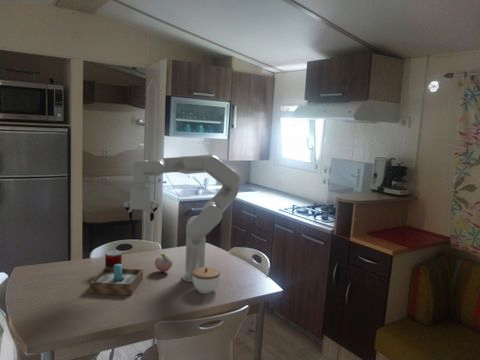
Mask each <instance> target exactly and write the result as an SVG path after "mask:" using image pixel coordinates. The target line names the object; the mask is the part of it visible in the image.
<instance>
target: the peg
mask: <svg viewBox="0 0 480 360" xmlns="http://www.w3.org/2000/svg"><path fill="white" fill-rule="evenodd" d="M122 268H123V264H115V265H114V282H122Z"/></svg>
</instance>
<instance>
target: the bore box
mask: <svg viewBox="0 0 480 360" xmlns="http://www.w3.org/2000/svg"><path fill="white" fill-rule="evenodd" d="M143 280H144V269H140V268H139V269H138V268H124V267H122V282H114V268H108V267H105V266H104V268H103V269H101V271H99V273H98V274H96V276H95V277H94V278H92V280H90V282H89V294H99V295H100V294H102V295H118V296H133V294H134V293H135V291H136V290H137V288H138V286H139V285H141V282H142V281H143Z"/></svg>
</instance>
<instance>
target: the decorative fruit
mask: <svg viewBox="0 0 480 360" xmlns="http://www.w3.org/2000/svg"><path fill="white" fill-rule="evenodd" d="M154 266H155V268H156V269H157V270H158V271H160V272H162V273H165V272H168V271H169V270H170V269H171V268H172V266H173V260H172V258H171V257H169V256H168V255H166V254H165V253H161V254H160V255H159V256H157V257H156V258H155V260H154Z"/></svg>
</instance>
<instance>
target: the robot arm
mask: <svg viewBox="0 0 480 360" xmlns="http://www.w3.org/2000/svg"><path fill="white" fill-rule="evenodd" d="M168 173H169V174H170V173H180V174H184V175H191V174H193V175H194V174H202V173H203V174H204V173H206V174H208V175H209V176H210V177H212V178H213V179H214V180H215V181H217V182H218V183H219V184H221V185H222V186H221V188H220V189H219V191H218V192H217V193H216V194H214V196H213V197H212V198H211V199H210V200H209V201H207V203H205V204H204V205H203V207H202V211H200V213H199V214H198V215H193V216H191V217H190V218H189V219H188V220H187V223H186V227H185V228H186V229H185V231H186V232H185V233H186V241H185V263H184V264H185V266H184V267H185V269H184V270H185V271H184V273H182V275H181V279H182V280H183V281H184V282H188V283H193V274H192V272H193V270H194V269H196V268H200V267H205V262H206V261H205V260H206V259H205V257H206V239H207V238H206V236H207V235H208V234H209V233H210V232H211V231H213V229H214V228H215V227H216V226H217V225H218V224H219V223H220V222H221V220H222V218H223V213H224V211H225V210H226V209H228V207H229V206H230V205H231V204H233V202H234V201H235V199H236V198H237V195H238V193H239V190H240V181H241V180H240V175H239V174H238V172H237V171H236V170H234V169H232V168H231V167H229V166H228V165H226V164H225V163H224V162H223V161H222V160H221V159H220V158H219V157H218V156H217V155H215V154H203V155H187V156H178V157H176V156H175V157H163V158H162V157H161V158H155V159H154V160H147V159H135V160H133V162H132V182H130V184H129V185H130V186H131V187H132V188H131V189H130V197H129V200H127V201H125V202H124V203H122V205H123V206H124V208H125V210H126V211H127V212H128V219H129V220H130V221H131V222H133V220H134V211H133V210H138V211H139V210H142V211H143V210H149V212H150V213H149V220H150V222H152V221H153V220H154V219H155V212H156V211H157V210H158V209H159V206H160V205H161V204H160V203H159V202H157V201H155V200H154V199H153V192H152V189H151V187H150V176H153V177H159V176H161V175H163V174H168ZM153 205H155V207H153Z"/></svg>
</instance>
